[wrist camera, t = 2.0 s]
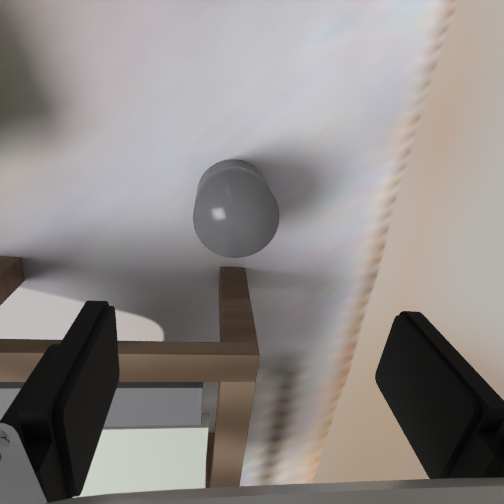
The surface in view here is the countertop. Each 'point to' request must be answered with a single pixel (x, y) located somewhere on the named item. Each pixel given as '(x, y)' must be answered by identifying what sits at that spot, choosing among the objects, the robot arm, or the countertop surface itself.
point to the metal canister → (234, 210)
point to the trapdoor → (145, 438)
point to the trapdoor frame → (176, 366)
